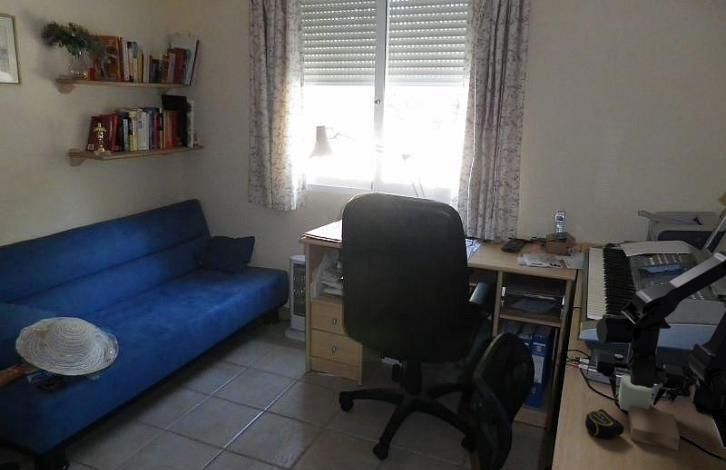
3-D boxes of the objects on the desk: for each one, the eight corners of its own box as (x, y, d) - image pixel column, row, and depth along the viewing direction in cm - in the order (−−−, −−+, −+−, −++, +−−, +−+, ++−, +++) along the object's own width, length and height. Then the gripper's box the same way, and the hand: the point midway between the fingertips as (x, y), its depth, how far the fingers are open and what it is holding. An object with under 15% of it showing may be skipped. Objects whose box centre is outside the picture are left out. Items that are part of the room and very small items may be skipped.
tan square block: (671, 425, 119) (673, 414, 119) (677, 450, 111) (680, 438, 111) (627, 416, 123) (629, 405, 122) (631, 439, 115) (633, 428, 114)
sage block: (645, 401, 129) (649, 379, 127) (648, 415, 123) (652, 393, 122) (618, 395, 131) (622, 374, 129) (620, 409, 125) (623, 387, 124)
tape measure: (624, 438, 115) (626, 424, 114) (598, 444, 113) (601, 430, 112) (602, 420, 122) (604, 406, 120) (577, 425, 120) (579, 411, 118)
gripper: (601, 351, 118) (592, 410, 123) (696, 367, 112) (683, 429, 116) (599, 330, 128) (592, 385, 133) (686, 344, 122) (675, 402, 126)
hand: (633, 400), depth 127 cm, fingers open, 8 cm apart
